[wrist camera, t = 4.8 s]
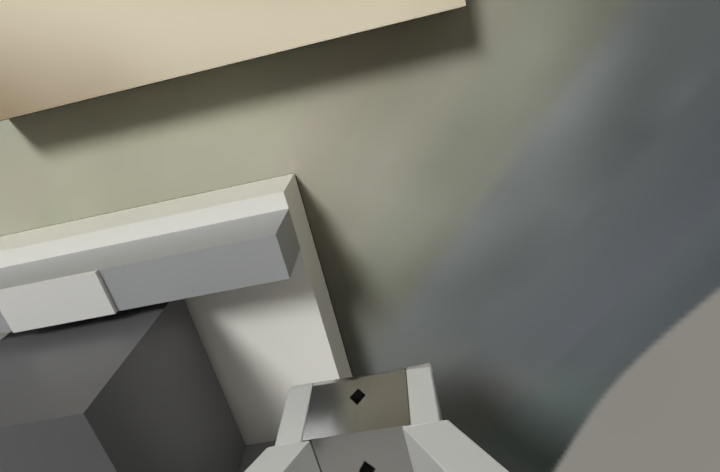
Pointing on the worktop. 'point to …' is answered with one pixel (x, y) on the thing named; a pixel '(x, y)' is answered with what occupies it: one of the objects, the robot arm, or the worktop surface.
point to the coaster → (163, 40)
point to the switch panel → (195, 288)
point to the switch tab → (115, 397)
